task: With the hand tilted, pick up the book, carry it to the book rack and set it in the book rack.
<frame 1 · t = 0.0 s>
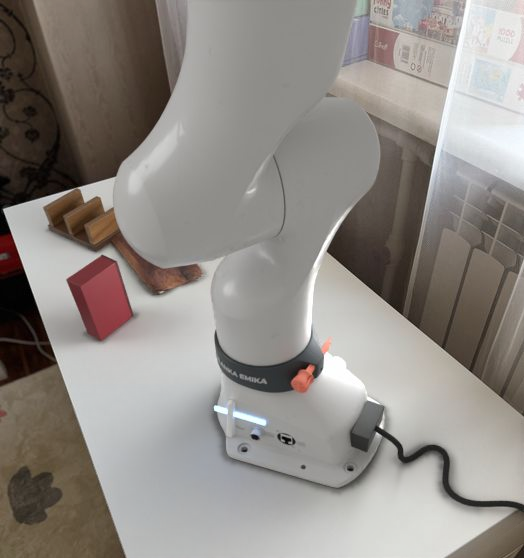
book: (110, 324, 86), on the table
brown flat bent piece: (150, 252, 100), on the table, touching book rack
book rack: (89, 229, 106), on the table
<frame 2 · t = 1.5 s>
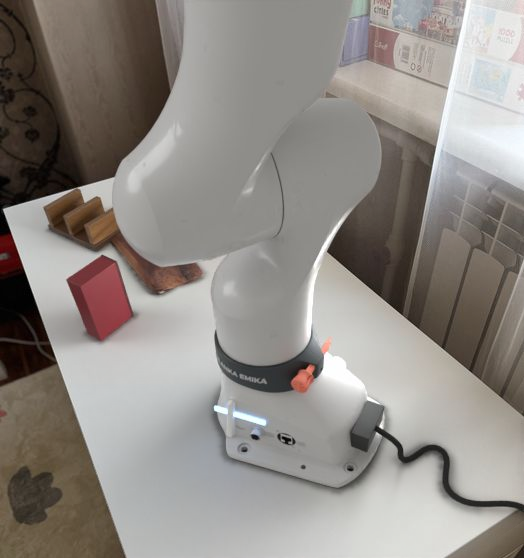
nothing on the table moved.
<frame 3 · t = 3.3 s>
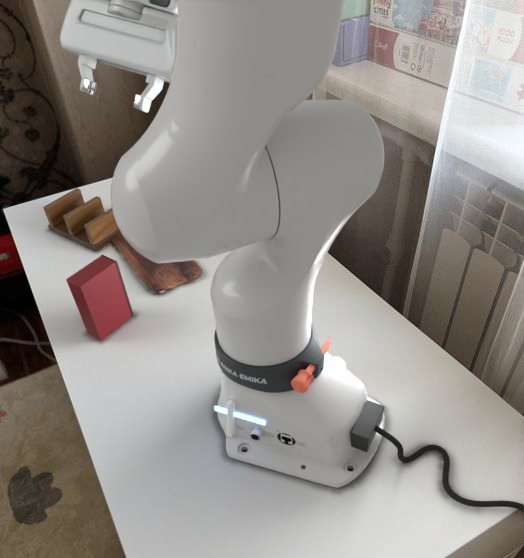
hand: (113, 102, 75), 29 cm above the table, tool tilted 35°, fingers open, 8 cm apart
nothing on the table moved.
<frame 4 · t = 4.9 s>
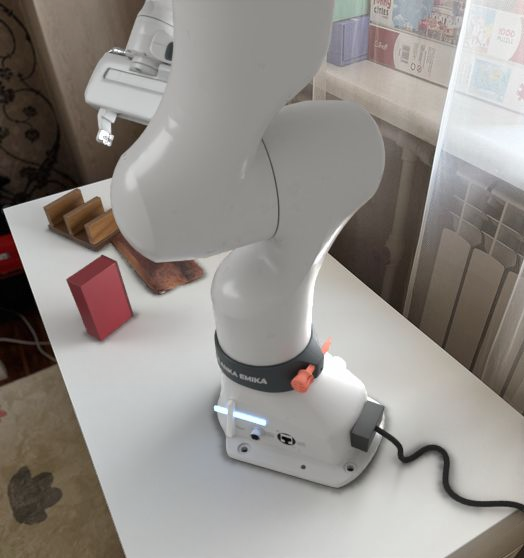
hand: (125, 151, 77), 24 cm above the table, tool tilted 45°, fingers open, 8 cm apart
brown flat bent piece: (151, 253, 101), on the table
everything else where it was.
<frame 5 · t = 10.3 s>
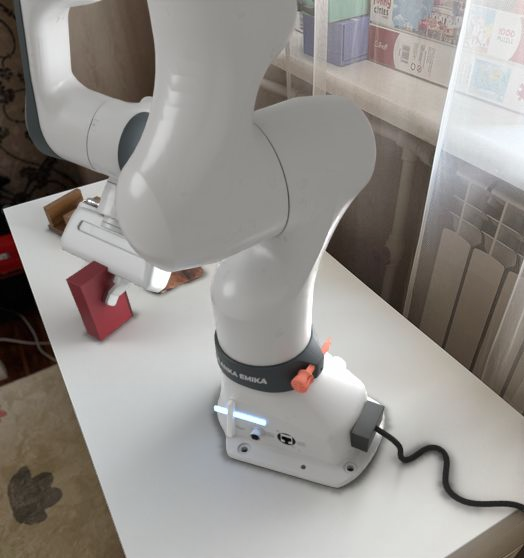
hand: (97, 298, 82), 6 cm above the table, tool tilted 45°, fingers closed on book, 3 cm apart
book: (110, 324, 86), on the table, touching gripper
everything else where it was.
when the fingers open (7 cm above the table, at t = 20.9 s): book stays where it is, resting on book rack.
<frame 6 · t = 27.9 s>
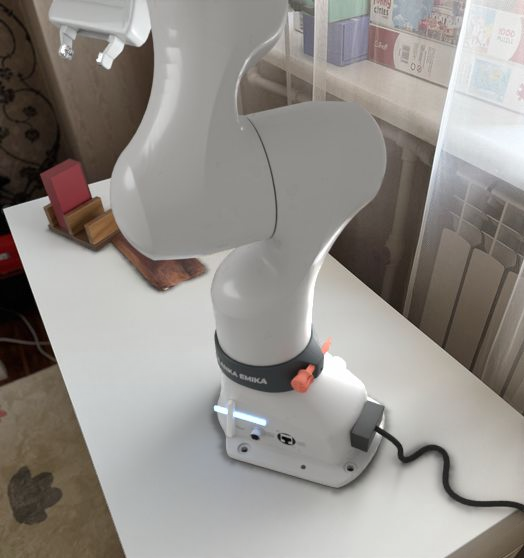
hand: (83, 62, 87), 29 cm above the table, tool tilted 45°, fingers open, 8 cm apart
book: (78, 219, 107), point 1 cm above the table, touching book rack
everything else where it was.
at the end: book 0.0 cm from the target spot on the book rack, point 1.2 cm above the book rack's base; book tilted 0°; the gripper is holding nothing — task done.
